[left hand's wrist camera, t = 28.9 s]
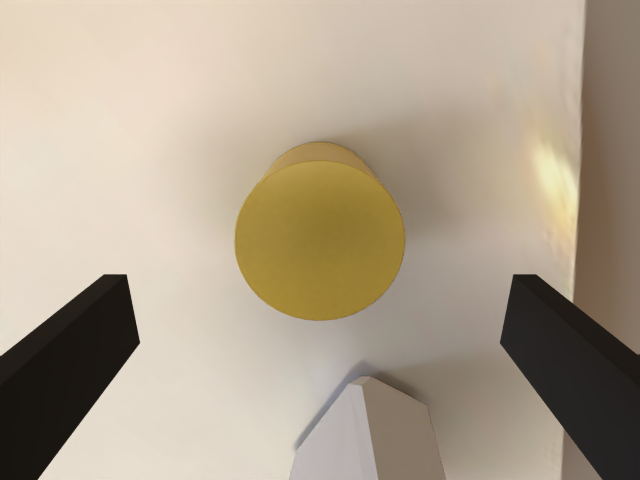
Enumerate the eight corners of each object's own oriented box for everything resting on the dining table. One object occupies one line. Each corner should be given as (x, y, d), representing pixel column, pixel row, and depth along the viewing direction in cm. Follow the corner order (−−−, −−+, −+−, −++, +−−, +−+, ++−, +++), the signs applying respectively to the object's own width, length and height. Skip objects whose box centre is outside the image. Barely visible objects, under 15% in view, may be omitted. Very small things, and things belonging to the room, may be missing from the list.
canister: (376, 137, 27) (405, 153, 18) (378, 251, 30) (405, 315, 21) (254, 146, 27) (220, 167, 18) (268, 259, 30) (246, 326, 21)
